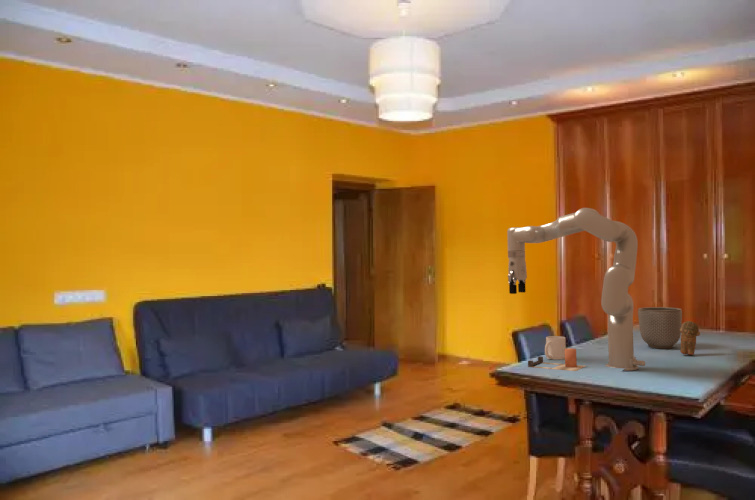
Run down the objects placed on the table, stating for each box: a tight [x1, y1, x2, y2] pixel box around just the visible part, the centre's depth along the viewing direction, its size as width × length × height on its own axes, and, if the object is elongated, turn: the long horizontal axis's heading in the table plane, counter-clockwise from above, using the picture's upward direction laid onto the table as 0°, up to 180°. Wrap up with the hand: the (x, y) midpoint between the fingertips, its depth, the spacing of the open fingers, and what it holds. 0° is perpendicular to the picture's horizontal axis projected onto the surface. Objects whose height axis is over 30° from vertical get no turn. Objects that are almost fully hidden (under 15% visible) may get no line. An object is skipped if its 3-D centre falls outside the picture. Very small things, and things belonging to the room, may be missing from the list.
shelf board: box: [527, 356, 586, 372], centre depth 252 cm, size 20×13×4 cm, turn 54°
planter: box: [637, 306, 683, 350], centre depth 302 cm, size 20×20×19 cm
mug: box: [544, 335, 567, 360], centre depth 272 cm, size 12×8×10 cm
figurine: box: [679, 320, 701, 356], centre depth 278 cm, size 8×8×15 cm
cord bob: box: [564, 347, 578, 367], centre depth 251 cm, size 4×4×7 cm
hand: (517, 293), depth 276 cm, fingers open, 9 cm apart
